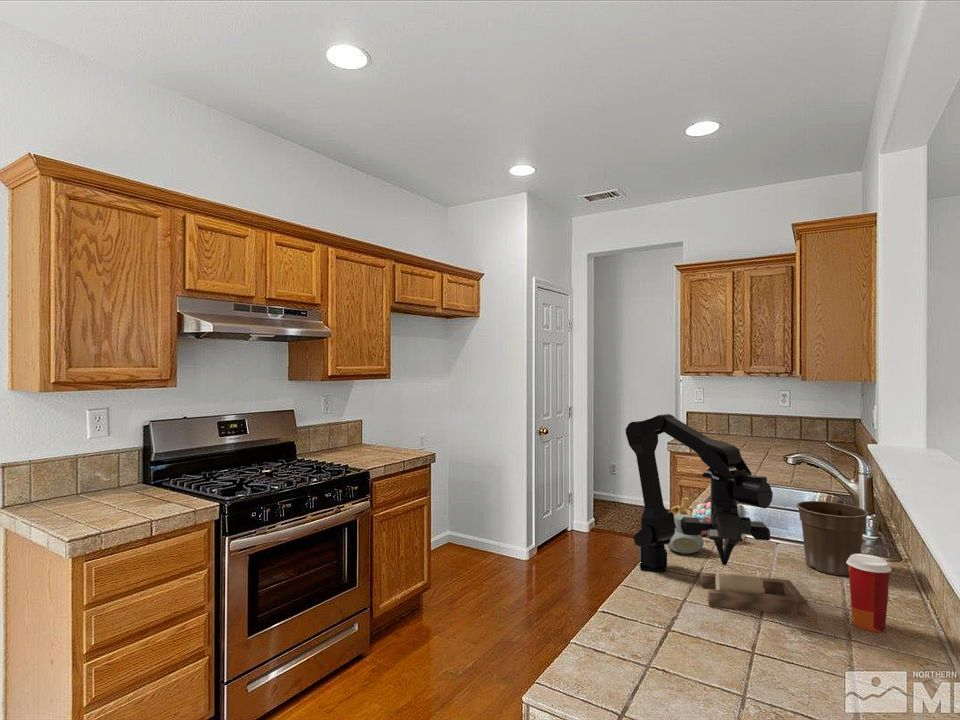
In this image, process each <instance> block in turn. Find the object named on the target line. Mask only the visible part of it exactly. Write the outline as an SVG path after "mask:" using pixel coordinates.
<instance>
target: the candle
mask: <svg viewBox="0 0 960 720" xmlns="http://www.w3.org/2000/svg"><path fill="white" fill-rule="evenodd" d="M715 574H716V579H715V582H716V589H715V590H724V591H735V592H746V593H757V594H765V589H764V588H763V581H761V580H760V579H759V578H760V577H759V578H758V576H757V575H756V574H743V573H730V572H719V571H717V572H716V573H715Z"/></svg>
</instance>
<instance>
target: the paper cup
mask: <svg viewBox="0 0 960 720" xmlns="http://www.w3.org/2000/svg"><path fill="white" fill-rule="evenodd" d="M846 563H847V564H848V565H849V575H848V576H849V589H850V590H849V591H850V593H849V594H850V605H851V607H850V609H851V617H852V619H851V620H852V624H853V625H854V626H855V627H857V628H859V629H862V630H864V631H868V632H872V633H873V632H874V633H883V632H885V630H886V623H887V610H888V600H889V584H890V583H889V582H890V572H892V568H891V566H890V564H889V562H887V560H885V559H884V558H882V557H879V556H876V555H872V554H865V553H861V554H852V555H850V557H849V558H848V560H847V562H846Z"/></svg>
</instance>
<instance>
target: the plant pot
mask: <svg viewBox="0 0 960 720" xmlns="http://www.w3.org/2000/svg"><path fill="white" fill-rule="evenodd" d="M796 507H797V509H798V516H799V521H801V522H800V523H801V528H802V529H801V531H802V537H803V547H804V548H803V549H804V558H805V564H806V566H807V567H809V568H812V569H813V568H814V569H815V570H816V571H817V572H821V573H825V574H829V575H833V576H849V565H848V564H847V563H846V562H847V560H848V558H849V557H850V555H852V554H862V552H861V551H862V546H863V545H862V544H863V537H864V536H863V535H864V530H865V527H866V520H867V517H868V516H869V512H868V511H867V510H866V509H864V508H861V507H858V506H854V505H850V504H846V503H840V502H834V501H833V502H832V501H831V502H830V501H822V500H821V501H820V500H806V501H800V502H798V503H796Z"/></svg>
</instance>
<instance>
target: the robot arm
mask: <svg viewBox="0 0 960 720" xmlns="http://www.w3.org/2000/svg"><path fill="white" fill-rule="evenodd" d="M664 433H665V434H667V435H669V437H670V438H672V439H675V440H676V441H678V442H679V443H681V444H683V445H684V446H686V447H687V448H689V449H691V450H692V451H694V452H695V453H696V454H697V456H699V458H700V460H701V461H702V462H703V463H704V464H705V465H706V466H707V467H708V469H707V470H706V471H704V472H703V473H702V477H703V478H708V479H710V502H711V523H703V522H700V521H699V519H698V518H692V517H683V518H682V519H681V529H682V531H683V534H685V535H696V536H698V535H699V534H700V533H701V531H706V534H707V536H708V538H709V539H710V540H714V543H713V544H715V547H716V551H717V553H718V556H719V559H720V562H721V565H722V566H727V564H728V562H729V559H730V557H731V554H732V552H733V550H734V548H735V546H736V545H737V544H738V543H742V542H743V541H744V539H742V538H741V536H742V534H746V535H751V536H752V537H753V538H754V539H755V541H756V540H757V541H768V542H769V541H770V540H771V530H770V529H769V527H768V526H767V525H766V524H765V523H764V522H763V521H754V520H753V521H752V520H751V518H750V517H749V516H748V517H747V516H740V515H739V511H738V503H740V504H745V505H749V506H752V507H757V508H760V509H767V508H768V507H770V505H771V503H772V501H773V494H774V493H773V490H772V488H771V485H770V483H769V482H768V478H767V476H763V475H762V476H757V475H752V471H751V469H750V468H749V467H748V466H747V464H746V462H745V460H744V459H743V457H742V455H741V450H740V449H739V448H738V447H737V446H735V445H733V444H730V443H727V442H725V441H722V440H718V439H713V438H711V437H708V436H706V435H704V434H703V433H701V432H700V431H697V430H696V429H694V428H693V427H690V426H689V425H687V424H686V423H684V422H682V421H681V420H679V419H677V418H676V417H675V416H674V415H673V414H670V413H667V414H657V415H655V416H653V417H651V418H647V419H644V420H638V421H631V422H629V423H628V424H627V427H625V437H626V438H627V443H628V446H629V447H630V449H632V451H633V452H634V454H635V456H636V462H637V468H638V475H639V480H640V487H641V493H642V499H643V504H644V508H643V509H644V510H643V513H642V515H641V517H640V524H641V525H640V526H641V529H640V530H639V531H637V532H636V533H635V534H634V535H633V536H632V537H633V538H632V539H633V541H634V545H635V546H638V547H639V561H638V562H639V569H640V570H641V571H651V572H661V573H666V568H668V551H667V549H666V546H665V545H666V544H669V543H670V540H671V538H672V537H673V535H674V534H675V528H676V525H675V522H674V513H673V512H672V511H670V512H669V511H668V510H667V508H666V507H665V505H664V499H663V495H662V489H661V488H662V487H661V482H660V476H659V471H658V470H659V469H658V465H657V459H656V449H657V446H658V443H659V435H661V434H664ZM723 539H724V544H723ZM640 562H641V563H640Z"/></svg>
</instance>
